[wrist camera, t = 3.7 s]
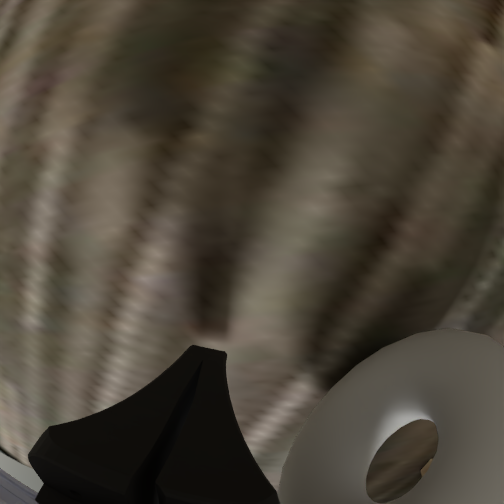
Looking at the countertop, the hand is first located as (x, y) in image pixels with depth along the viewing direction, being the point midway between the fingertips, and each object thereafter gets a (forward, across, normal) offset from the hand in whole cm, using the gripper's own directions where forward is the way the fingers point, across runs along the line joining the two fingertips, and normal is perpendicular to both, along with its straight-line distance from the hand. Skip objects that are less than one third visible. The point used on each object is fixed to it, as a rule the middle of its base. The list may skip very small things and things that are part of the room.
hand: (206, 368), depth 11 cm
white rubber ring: (+2, -7, 0) cm, 7 cm away
